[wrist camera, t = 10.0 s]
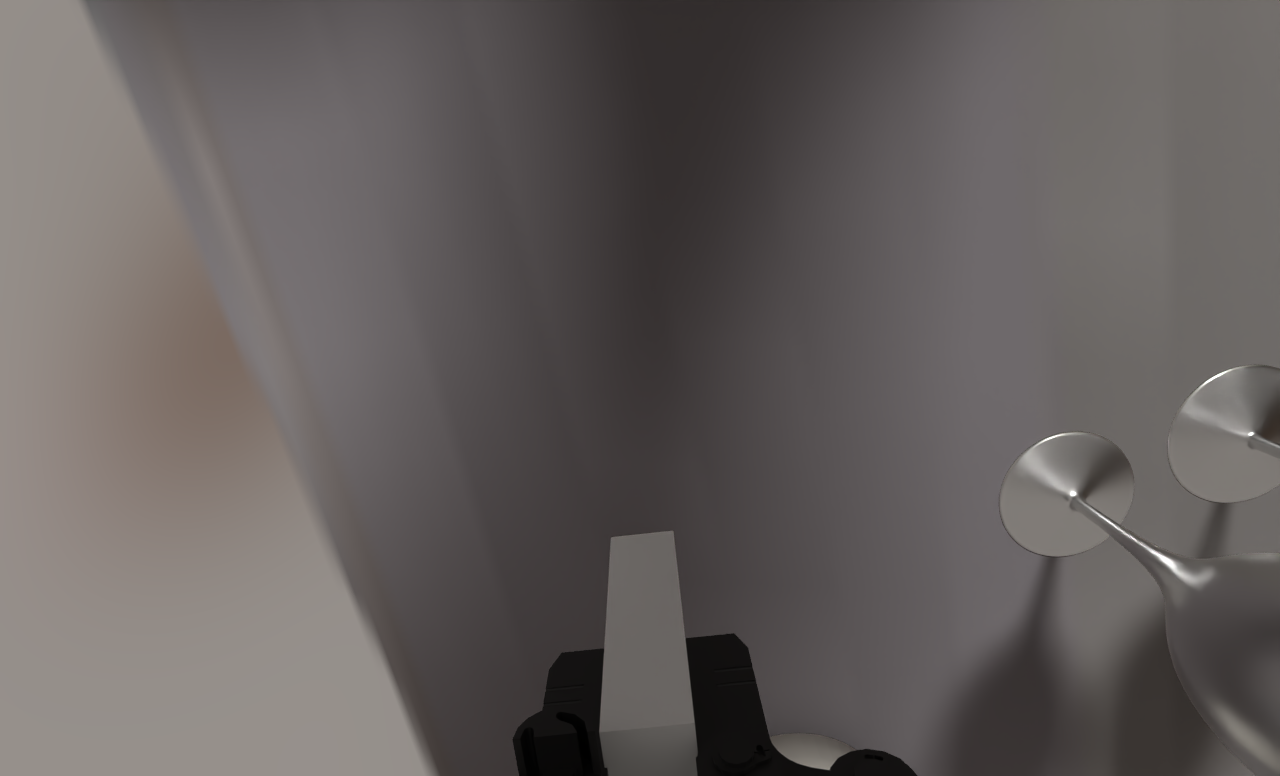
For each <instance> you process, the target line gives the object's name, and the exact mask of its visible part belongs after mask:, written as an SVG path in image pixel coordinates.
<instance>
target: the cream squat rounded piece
mask: <svg viewBox="0 0 1280 776" xmlns="http://www.w3.org/2000/svg"><path fill="white" fill-rule="evenodd" d="M770 739H771V742H772V744H773V745H774V746H775V748H776V749H777V750H778V751H779V752H780V753H781V754H782V755H784V756H785V757H786V758H788V759H790V760H792V761H794V762H796V763H798V764H801V765H805V766H809V767H813V768H819V769H825V770H830V767H831V766H832V765H833V764H834V762H835V761H836V760H837V759H838V758H839V757H841V756H843V755H845V754H846V753H849V752H850V751H856V749H854V748H852V747H851V746H849V745H847V744H845V743H843V742H841V741H838V740H836V739H833V738H830V737H826V736H822V735H816V734H807V733H789V734H781V735H775V736H771V737H770Z"/></svg>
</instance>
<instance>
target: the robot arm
mask: <svg viewBox="0 0 1280 776" xmlns="http://www.w3.org/2000/svg"><path fill="white" fill-rule="evenodd" d="M513 744H514V750H515V755H516V760H517V766H518V771H519V776H917V775H916V774H915V772H914V771H913V770H912V769H911V768H910V767H909V766H908V765H907V764H905V763H904V762H903V761H902V760H901V759H900V758H897V757H895V756H893V755H891V754H888V753H886V752H883V751H877V750H870V749H864V750H856V751H850V752H849V753H846V754H845V755H843V756H841V757H839V758H838V759H837V760H836V761H835V762H834V764H833V765H832V766H831V767H830V770H825V769H819V768H813V767H809V766H805V765H801V764H798V763H796V762H794V761H792V760H790V759H788V758H786V757H785V756H784V755H782V754H781V753H780V752H779V751H778V750H777V749H776V748H775V746H774V745H773V744H772V742H771V739H770V737H769V734H768V730H767V726H766V721H765V717H764V713H763V709H762V705H761V700H760V696H759V692H758V688H757V684H756V679H755V675H754V671H753V668H752V663H751V658H750V654H749V650H748V647H747V646H746V645H745V644H744V643H743V642H742V641H741V640H740V639H739V638H738V637H737V636H736V635H735V634H734V633H733V634H724V635H714V636H704V637H694V638H685V631H684V622H683V613H682V604H681V595H680V586H679V577H678V568H677V559H676V550H675V541H674V532H673V531H665V532H655V533H646V534H636V535H627V536H617V537H611V544H610V560H609V577H608V594H607V611H606V628H605V644H604V649H594V650H584V651H574V652H565V653H561V655H560V656H559V657H558V659H557V660H556V661H555V663H554V664H553V665H552V667H551V668H550V669H549V674H548V680H547V686H546V692H545V698H544V707H543V710H542V711H540V712H539V713H537V714H535V715H533V716H531V717H529V718H528V719H527V720H526V721H525V722H523V723H522V724H521V725H520V726H519V727H518V729H517V731H516V733H515V735H514V737H513Z"/></svg>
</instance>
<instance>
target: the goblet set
mask: <svg viewBox="0 0 1280 776" xmlns="http://www.w3.org/2000/svg"><path fill="white" fill-rule="evenodd" d="M1167 454H1168V460H1169V464H1170V467H1171V470H1172V472H1173V474H1174V476H1175V477H1176V479H1177V480H1178V482H1179V483H1180V484H1181V485H1182V486H1183V487H1184V488H1185V489H1186V490H1187V491H1189V492H1190V493H1192V494H1193V495H1195V496H1197V497H1199V498H1201V499H1204V500H1207V501H1212V502H1218V503H1235V502H1242V501H1246V500H1250V499H1253V498H1256V497H1258V496H1261V495H1263V494H1265V493H1267V492H1269V491H1270V490H1272V489H1274V488H1275V487H1277V486H1278V485H1280V369H1279V368H1276V367H1272V366H1267V365H1244V366H1238V367H1234V368H1231V369H1228V370H1225V371H1223V372H1221V373H1218V374H1216V375H1215V376H1213V377H1211V378H1209V379H1208V380H1206V381H1205V382H1203V383H1202V384H1201V385H1200V386H1198V387H1197V388H1196V389H1195V390H1194V391H1193V392H1192V393H1191V394H1190V395H1189V396H1188V397H1187V398H1186V400H1185V401H1184V402H1183V404H1182V405H1181V406H1180V408H1179V410H1178V411H1177V413H1176V415H1175V417H1174V419H1173V422H1172V424H1171V427H1170V431H1169V435H1168V442H1167ZM1133 495H1134V476H1133V471H1132V468H1131V465H1130V463H1129V461H1128V459H1127V457H1126V456H1125V454H1124V453H1123V452H1122V450H1121V449H1120V448H1119V447H1118V446H1117V445H1115V444H1114V443H1113V442H1111V441H1110V440H1108V439H1106V438H1105V437H1102V436H1100V435H1097V434H1094V433H1090V432H1083V431H1070V432H1063V433H1058V434H1054V435H1051V436H1049V437H1046V438H1044V439H1042V440H1040V441H1038V442H1036V443H1035V444H1033V445H1032V446H1030V447H1029V448H1028V449H1026V450H1025V451H1024V452H1023V453H1022V454H1021V455H1020V456H1019V457H1018V458H1017V459H1016V460H1015V461H1014V463H1013V464H1012V465H1011V467H1010V468H1009V470H1008V472H1007V473H1006V475H1005V477H1004V480H1003V482H1002V485H1001V489H1000V494H999V512H1000V517H1001V520H1002V523H1003V525H1004V527H1005V529H1006V531H1007V532H1008V534H1009V535H1010V536H1011V538H1012V539H1013V540H1014V541H1015V542H1017V543H1018V544H1019V545H1020V546H1022V547H1023V548H1025V549H1027V550H1029V551H1031V552H1033V553H1036V554H1040V555H1044V556H1051V557H1063V556H1070V555H1075V554H1079V553H1082V552H1085V551H1087V550H1089V549H1091V548H1093V547H1095V546H1097V545H1099V544H1100V543H1102V542H1103V541H1105V540H1106V539H1107V538H1108V537H1109V536H1111V537H1112V538H1114V539H1115V540H1116V541H1117V542H1118V543H1120V544H1121V545H1122V546H1123V547H1124V548H1125V549H1126V550H1128V551H1129V552H1130V553H1131V554H1132V555H1133V556H1134V557H1135V558H1136V559H1137V560H1138V561H1139V562H1140V563H1141V564H1142V565H1143V566H1144V567H1145V568H1146V569H1147V570H1148V572H1149V573H1150V574H1151V575H1152V576H1153V577H1154V579H1155V581H1156V582H1157V584H1158V585H1159V587H1160V589H1161V591H1162V594H1163V596H1164V601H1165V623H1166V636H1167V643H1168V648H1169V652H1170V656H1171V660H1172V663H1173V666H1174V669H1175V671H1176V674H1177V676H1178V679H1179V681H1180V683H1181V685H1182V687H1183V689H1184V690H1185V692H1186V694H1187V696H1188V698H1189V699H1190V701H1191V703H1192V704H1193V706H1194V707H1195V708H1196V710H1197V711H1198V713H1199V714H1200V716H1201V717H1202V719H1203V720H1204V721H1205V722H1206V724H1207V725H1208V726H1209V727H1210V729H1211V730H1212V731H1213V732H1214V734H1215V735H1216V736H1217V737H1218V738H1219V739H1220V741H1221V742H1222V743H1223V744H1224V745H1225V746H1226V747H1227V748H1228V749H1229V750H1230V752H1231V753H1232V754H1233V755H1234V756H1236V757H1237V758H1238V759H1239V760H1240V761H1241V762H1242V763H1243V764H1244V765H1245V766H1246V767H1247V768H1248V769H1249V770H1250V771H1251V772H1253V773H1254V774H1255V775H1256V776H1280V553H1245V554H1236V555H1228V556H1222V557H1216V558H1209V559H1197V558H1189V557H1185V556H1182V555H1178V554H1175V553H1173V552H1170V551H1168V550H1165V549H1163V548H1161V547H1159V546H1157V545H1155V544H1153V543H1151V542H1149V541H1147V540H1145V539H1143V538H1142V537H1140V536H1138V535H1136V534H1135V533H1133V532H1131V531H1129V530H1128V529H1126V528H1125V527H1123V526H1121V523H1122V522H1123V520H1124V519H1125V517H1126V515H1127V513H1128V511H1129V509H1130V506H1131V503H1132V500H1133Z"/></svg>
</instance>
